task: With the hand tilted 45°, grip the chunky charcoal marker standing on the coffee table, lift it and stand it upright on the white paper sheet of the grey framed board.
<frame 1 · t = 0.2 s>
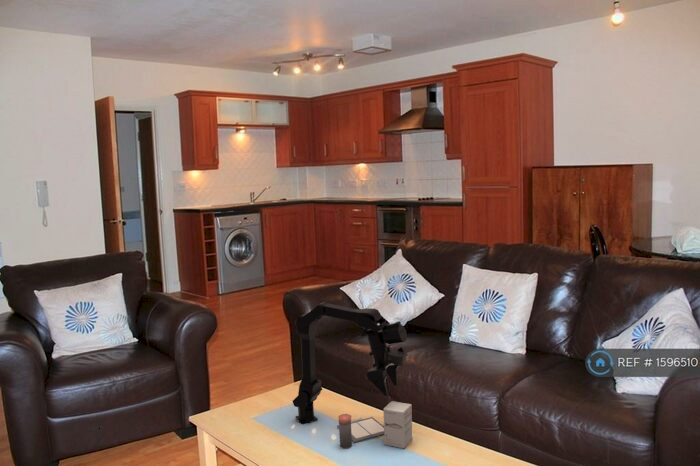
hand: (391, 390, 201), 15 cm above the table, tool pointing down, fingers open, 9 cm apart
marker: (346, 445, 196), on the table
grey framed board: (363, 430, 206), on the table
supplement box: (398, 443, 196), on the table
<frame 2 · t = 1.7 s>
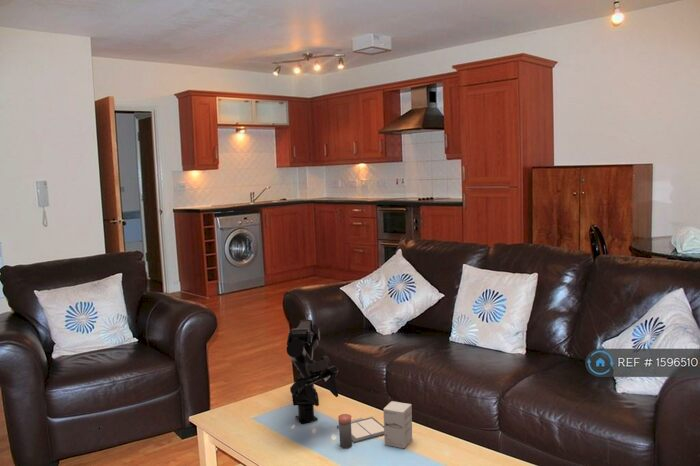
hand: (328, 401, 199), 13 cm above the table, tool tilted 45°, fingers open, 9 cm apart
nothing on the table moved.
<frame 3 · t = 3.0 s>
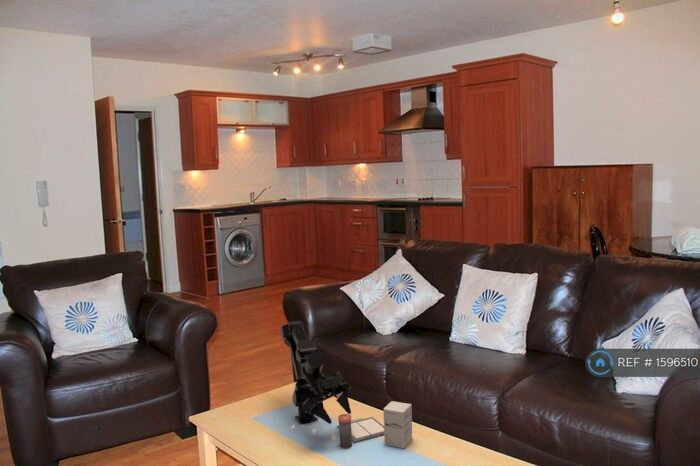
hand: (340, 418, 196), 9 cm above the table, tool tilted 45°, fingers open, 9 cm apart
nothing on the table moved.
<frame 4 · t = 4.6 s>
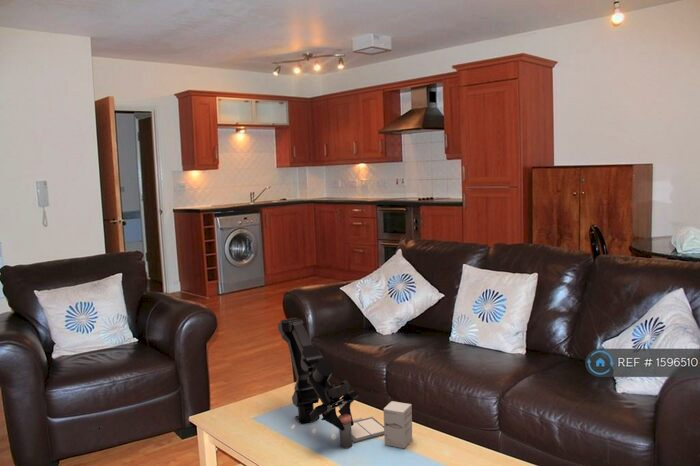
hand: (348, 427, 194), 7 cm above the table, tool tilted 45°, fingers closed on marker, 4 cm apart
marker: (346, 445, 196), on the table, touching gripper
everything else where it was.
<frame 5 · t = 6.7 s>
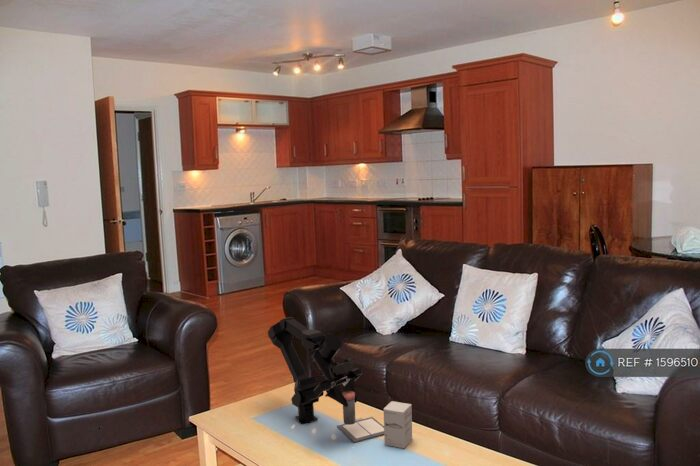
hand: (351, 404, 196), 13 cm above the table, tool tilted 45°, fingers closed on marker, 4 cm apart
marker: (349, 421, 198), point 7 cm above the table, touching gripper
everything else where it was.
when the fingers open (9 cm above the table, at t = 9.1 s): marker drops 1 cm, resting on grey framed board.
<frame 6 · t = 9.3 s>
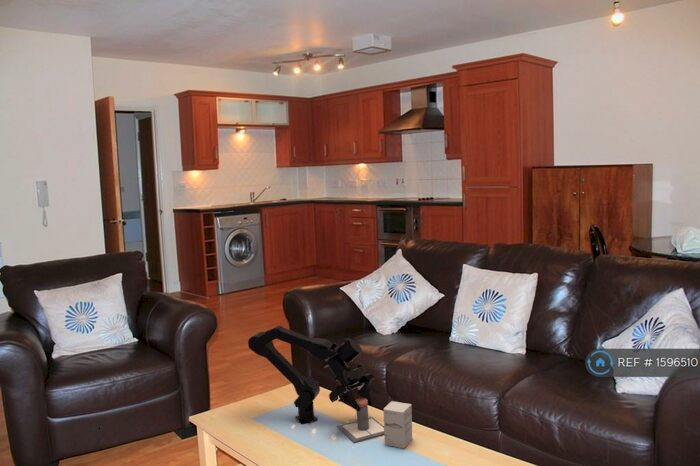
hand: (365, 407, 204), 9 cm above the table, tool tilted 45°, fingers open, 6 cm apart
marker: (363, 427, 206), point 1 cm above the table, touching grey framed board
everything else where it was.
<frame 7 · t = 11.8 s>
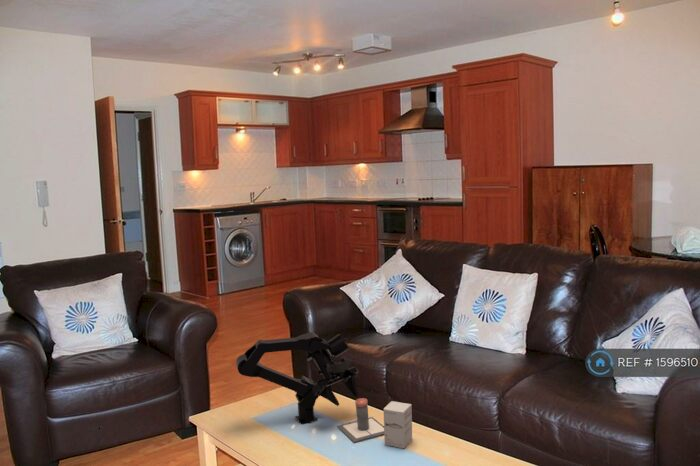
hand: (347, 400, 210), 9 cm above the table, tool tilted 45°, fingers open, 9 cm apart
nothing on the table moved.
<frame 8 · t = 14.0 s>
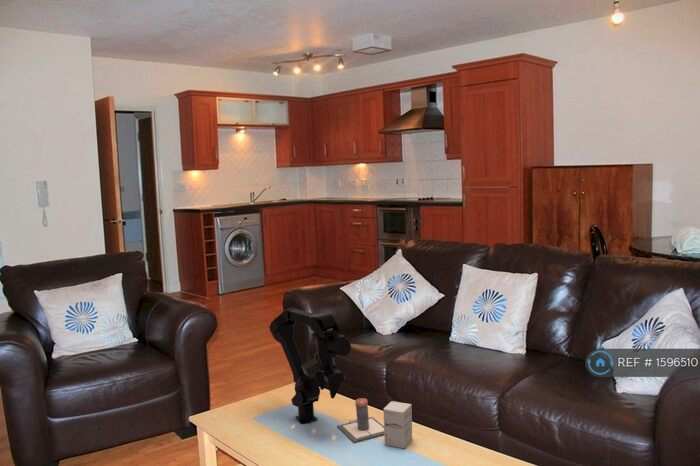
hand: (327, 393, 207), 13 cm above the table, tool pointing down, fingers open, 9 cm apart
nothing on the table moved.
at the end: marker inside the target area on the grey framed board (0.0 cm from its centre), point 0.9 cm above the grey framed board's base; marker tilted 2°; the gripper is holding nothing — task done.
